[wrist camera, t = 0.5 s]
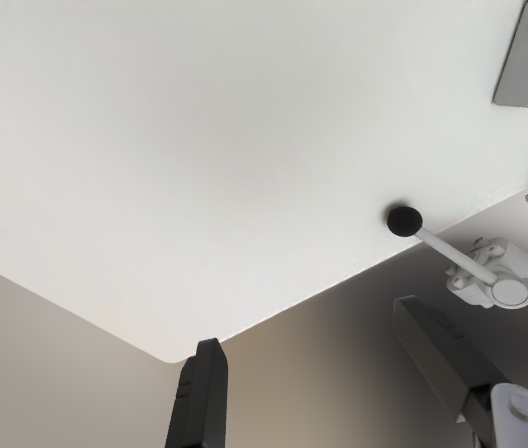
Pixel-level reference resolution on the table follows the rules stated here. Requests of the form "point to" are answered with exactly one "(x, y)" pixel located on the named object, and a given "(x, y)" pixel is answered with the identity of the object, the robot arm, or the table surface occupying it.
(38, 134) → the table surface
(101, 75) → the table surface
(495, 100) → the electrical switch
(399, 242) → the table surface
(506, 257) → the valve
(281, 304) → the table surface
